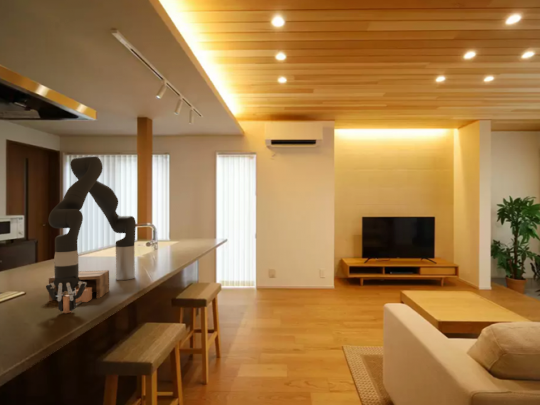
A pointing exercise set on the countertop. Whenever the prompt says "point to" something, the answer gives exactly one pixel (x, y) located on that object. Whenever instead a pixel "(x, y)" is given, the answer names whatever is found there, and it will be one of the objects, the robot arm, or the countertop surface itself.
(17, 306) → the countertop surface
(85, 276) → the walnut shelf
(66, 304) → the tethered block
